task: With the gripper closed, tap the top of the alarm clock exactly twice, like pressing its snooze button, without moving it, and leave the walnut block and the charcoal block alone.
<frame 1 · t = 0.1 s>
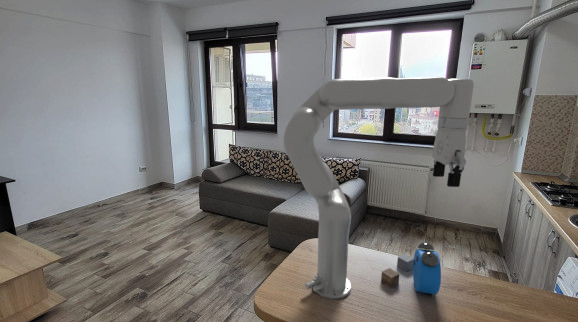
hand: (445, 181, 87), 37 cm above the table, tool pointing down, fingers open, 9 cm apart
alarm clock: (423, 289, 96), on the table
walnut block: (389, 283, 99), on the table
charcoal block: (405, 267, 108), on the table
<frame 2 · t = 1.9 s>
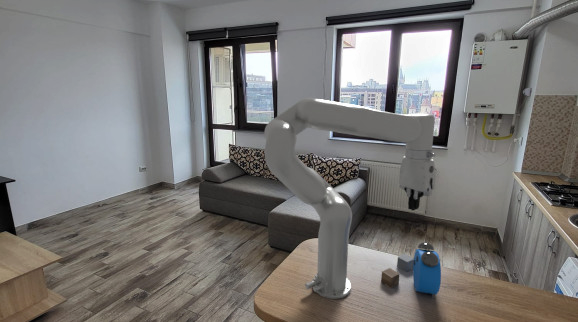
hand: (413, 208, 95), 26 cm above the table, tool pointing down, fingers closed
nothing on the table moved.
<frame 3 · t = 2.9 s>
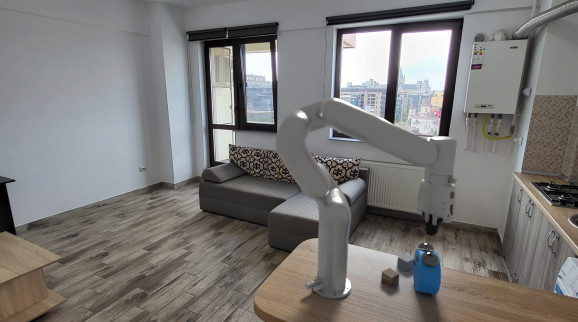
hand: (431, 234, 91), 20 cm above the table, tool pointing down, fingers closed
nothing on the table moved.
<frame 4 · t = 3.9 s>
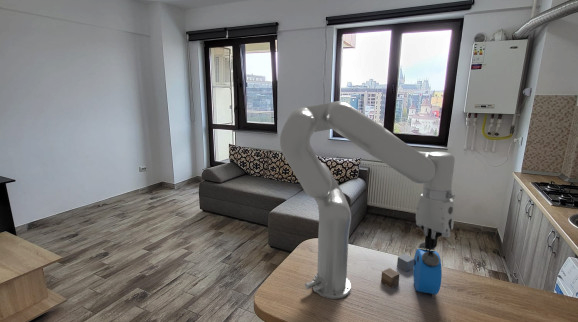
hand: (430, 247, 92), 15 cm above the table, tool pointing down, fingers closed
alarm clock: (423, 289, 96), on the table, touching gripper
everything else where it was.
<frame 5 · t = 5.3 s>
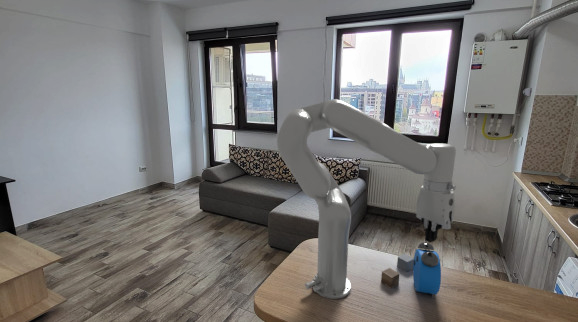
hand: (430, 240, 92), 18 cm above the table, tool pointing down, fingers closed
alarm clock: (423, 289, 96), on the table
everything else where it was.
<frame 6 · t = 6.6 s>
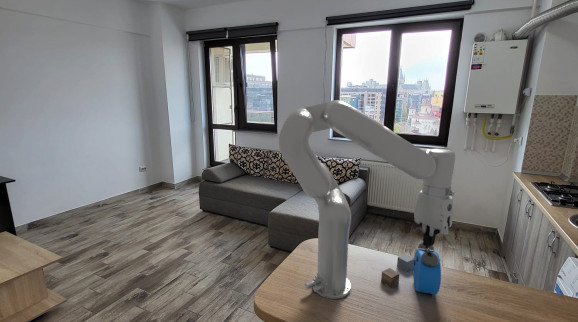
hand: (428, 244, 92), 16 cm above the table, tool pointing down, fingers closed
nothing on the table moved.
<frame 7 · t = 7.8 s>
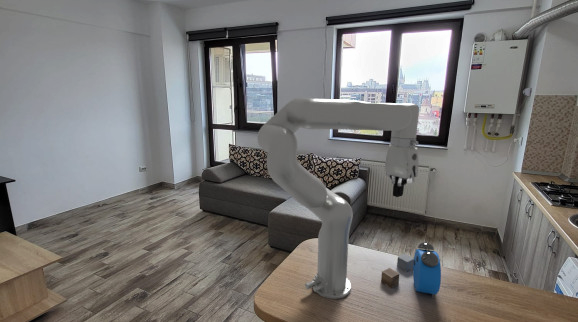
hand: (397, 195, 99), 29 cm above the table, tool pointing down, fingers closed
nothing on the table moved.
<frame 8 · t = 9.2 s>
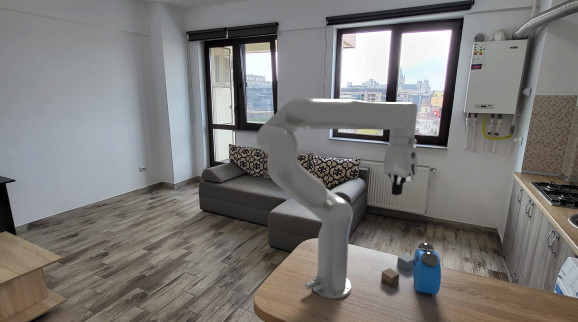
hand: (396, 194, 99), 29 cm above the table, tool pointing down, fingers closed
nothing on the table moved.
at the end: alarm clock moved 0.2 cm from its start; alarm clock tilted 0°; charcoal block moved 0.1 cm from its start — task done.
